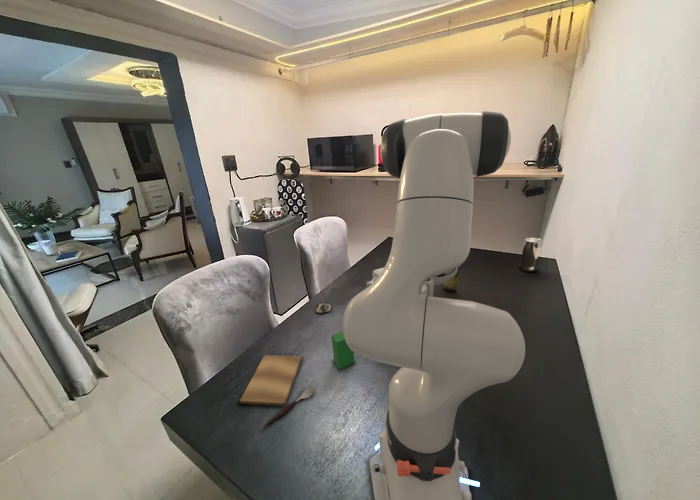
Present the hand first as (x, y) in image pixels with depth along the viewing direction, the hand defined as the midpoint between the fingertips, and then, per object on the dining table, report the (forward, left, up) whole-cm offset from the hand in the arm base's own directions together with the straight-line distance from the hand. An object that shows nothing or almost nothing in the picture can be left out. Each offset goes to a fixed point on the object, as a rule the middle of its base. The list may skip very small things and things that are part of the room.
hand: (376, 292), depth 77 cm
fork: (-22, +22, -20) cm, 37 cm away
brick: (-7, +10, -20) cm, 24 cm away
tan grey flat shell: (+21, +22, -20) cm, 37 cm away
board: (-14, +30, -20) cm, 38 cm away
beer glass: (+55, -71, -20) cm, 92 cm away
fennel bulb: (+20, -2, -16) cm, 26 cm away
